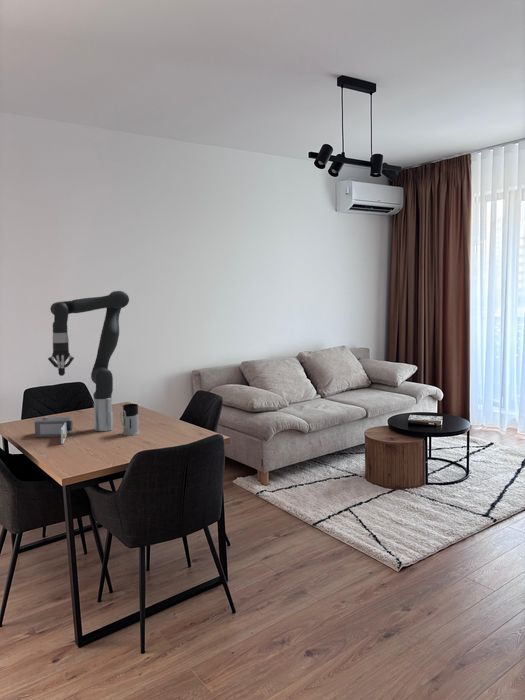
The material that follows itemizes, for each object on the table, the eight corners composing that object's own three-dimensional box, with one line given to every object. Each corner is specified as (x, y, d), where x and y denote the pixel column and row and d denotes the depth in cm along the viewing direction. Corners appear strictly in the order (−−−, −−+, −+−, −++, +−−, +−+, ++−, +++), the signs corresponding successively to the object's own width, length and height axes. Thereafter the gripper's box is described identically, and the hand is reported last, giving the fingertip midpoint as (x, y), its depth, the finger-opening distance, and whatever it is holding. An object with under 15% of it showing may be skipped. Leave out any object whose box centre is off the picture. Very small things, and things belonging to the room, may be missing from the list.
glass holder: (142, 432, 288) (142, 403, 286) (129, 438, 274) (128, 409, 273) (127, 431, 290) (127, 403, 288) (113, 437, 276) (112, 408, 275)
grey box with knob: (73, 431, 289) (73, 415, 288) (68, 436, 279) (68, 419, 278) (41, 432, 287) (40, 416, 287) (35, 437, 277) (34, 420, 277)
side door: (65, 435, 279) (64, 422, 278) (69, 435, 279) (68, 422, 278) (61, 443, 263) (60, 429, 263) (65, 443, 264) (64, 429, 263)
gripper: (44, 342, 273) (46, 376, 274) (72, 342, 274) (73, 376, 276) (49, 341, 280) (50, 374, 282) (75, 340, 281) (76, 374, 283)
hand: (61, 375), depth 279 cm, fingers closed
